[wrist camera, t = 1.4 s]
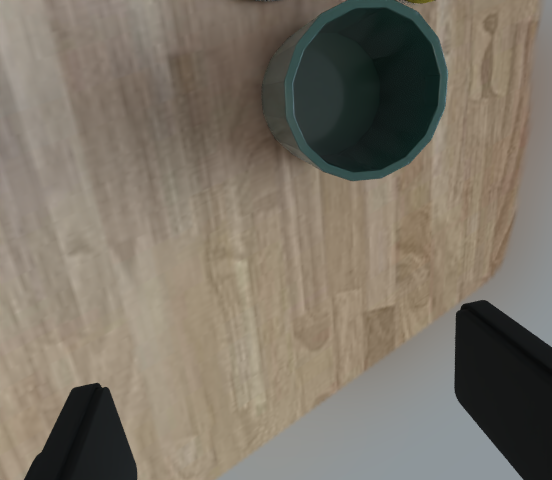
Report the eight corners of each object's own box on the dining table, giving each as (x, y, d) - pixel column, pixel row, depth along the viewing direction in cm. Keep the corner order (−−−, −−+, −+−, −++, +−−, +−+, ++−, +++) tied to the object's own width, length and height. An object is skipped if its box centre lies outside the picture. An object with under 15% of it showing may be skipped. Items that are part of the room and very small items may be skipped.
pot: (234, 102, 34) (248, 102, 25) (322, -6, 33) (371, -49, 23) (325, 184, 38) (366, 211, 29) (407, 91, 36) (478, 87, 27)
